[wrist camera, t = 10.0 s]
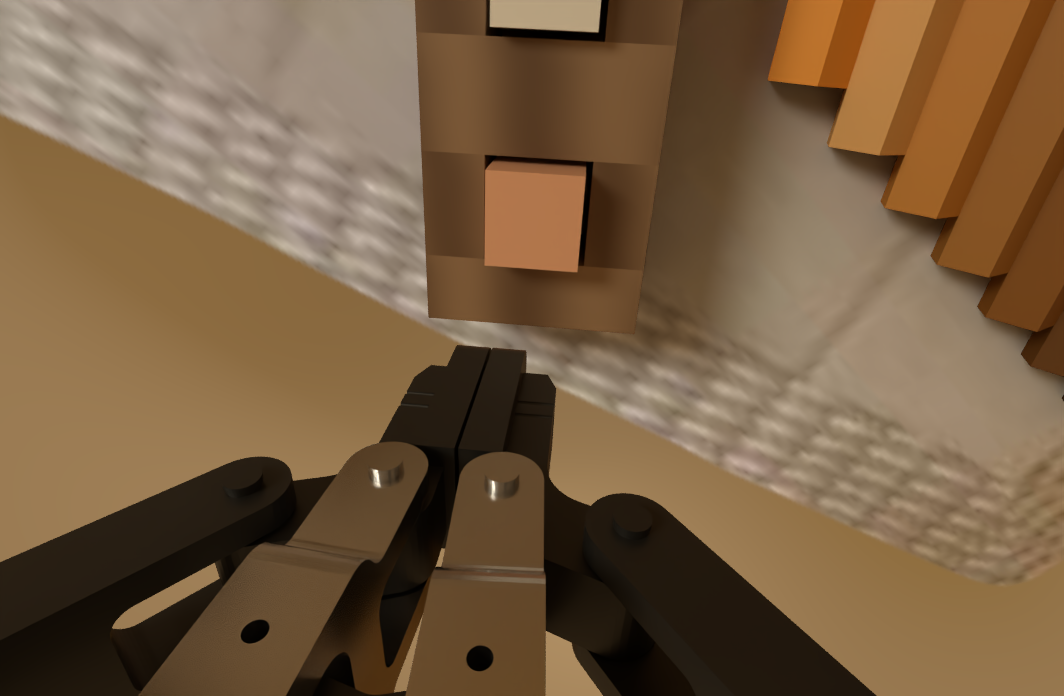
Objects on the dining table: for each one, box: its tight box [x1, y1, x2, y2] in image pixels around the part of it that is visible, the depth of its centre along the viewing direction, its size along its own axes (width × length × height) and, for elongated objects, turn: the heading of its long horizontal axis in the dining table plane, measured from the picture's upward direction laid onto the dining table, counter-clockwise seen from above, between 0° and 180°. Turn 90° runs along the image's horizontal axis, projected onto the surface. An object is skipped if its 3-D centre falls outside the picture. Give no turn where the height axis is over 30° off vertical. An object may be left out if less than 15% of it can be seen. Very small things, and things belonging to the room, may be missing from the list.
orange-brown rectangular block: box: [484, 156, 586, 272], centre depth 26 cm, size 4×4×6 cm
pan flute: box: [768, 0, 1064, 401], centre depth 27 cm, size 25×3×25 cm
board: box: [415, 0, 683, 334], centre depth 25 cm, size 10×20×6 cm, turn 177°
